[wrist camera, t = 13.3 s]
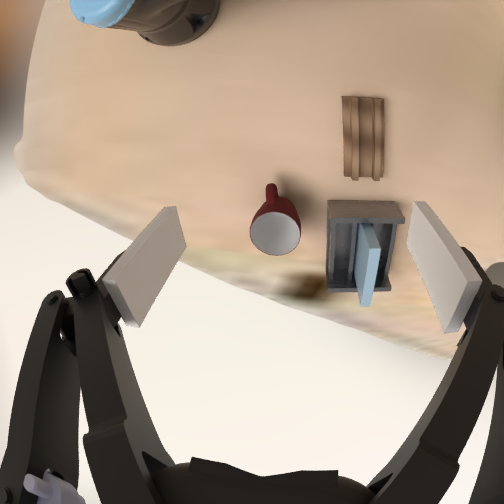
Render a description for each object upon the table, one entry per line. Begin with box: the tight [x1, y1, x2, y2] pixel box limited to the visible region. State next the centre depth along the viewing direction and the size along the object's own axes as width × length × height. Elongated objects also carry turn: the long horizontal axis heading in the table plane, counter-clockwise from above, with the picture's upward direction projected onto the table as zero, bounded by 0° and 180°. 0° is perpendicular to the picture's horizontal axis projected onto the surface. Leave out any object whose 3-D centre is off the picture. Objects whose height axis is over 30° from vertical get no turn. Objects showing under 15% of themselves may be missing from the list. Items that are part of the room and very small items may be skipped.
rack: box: [326, 200, 405, 292], centre depth 50 cm, size 16×13×7 cm
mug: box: [250, 183, 301, 256], centre depth 48 cm, size 10×8×10 cm
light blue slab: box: [353, 223, 381, 306], centre depth 47 cm, size 12×2×12 cm, turn 7°
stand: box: [342, 97, 384, 181], centre depth 41 cm, size 14×7×3 cm, turn 7°
